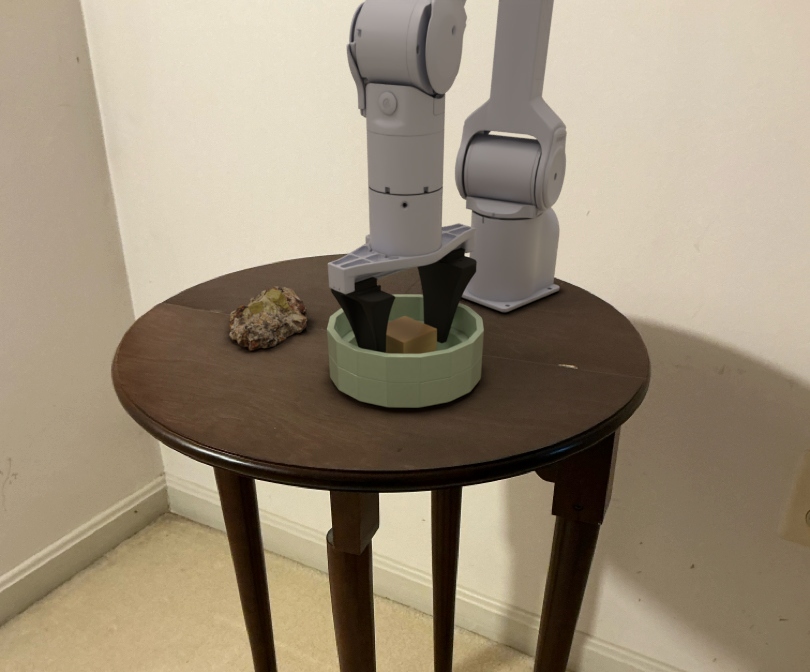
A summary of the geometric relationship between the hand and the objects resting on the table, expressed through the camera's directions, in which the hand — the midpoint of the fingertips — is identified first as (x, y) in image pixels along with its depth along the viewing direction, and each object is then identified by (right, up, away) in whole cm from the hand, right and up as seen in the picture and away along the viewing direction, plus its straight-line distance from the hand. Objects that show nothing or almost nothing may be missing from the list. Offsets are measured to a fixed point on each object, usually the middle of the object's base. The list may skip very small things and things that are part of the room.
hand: (405, 352), depth 67 cm
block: (0, -1, +1) cm, 2 cm away
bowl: (0, -2, +1) cm, 2 cm away
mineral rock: (-14, +4, +10) cm, 17 cm away
